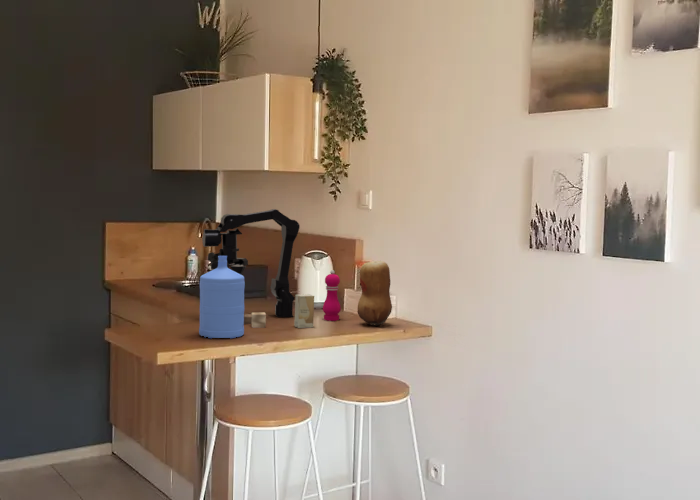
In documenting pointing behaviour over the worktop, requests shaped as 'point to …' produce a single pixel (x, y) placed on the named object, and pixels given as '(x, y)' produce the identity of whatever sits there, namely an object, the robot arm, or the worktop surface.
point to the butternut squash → (375, 293)
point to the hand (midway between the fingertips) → (229, 285)
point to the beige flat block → (247, 318)
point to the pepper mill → (331, 297)
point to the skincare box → (304, 311)
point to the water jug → (222, 302)
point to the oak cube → (259, 320)
